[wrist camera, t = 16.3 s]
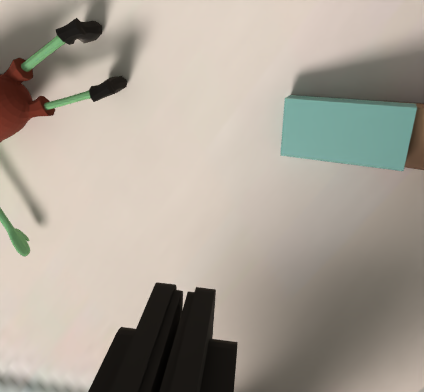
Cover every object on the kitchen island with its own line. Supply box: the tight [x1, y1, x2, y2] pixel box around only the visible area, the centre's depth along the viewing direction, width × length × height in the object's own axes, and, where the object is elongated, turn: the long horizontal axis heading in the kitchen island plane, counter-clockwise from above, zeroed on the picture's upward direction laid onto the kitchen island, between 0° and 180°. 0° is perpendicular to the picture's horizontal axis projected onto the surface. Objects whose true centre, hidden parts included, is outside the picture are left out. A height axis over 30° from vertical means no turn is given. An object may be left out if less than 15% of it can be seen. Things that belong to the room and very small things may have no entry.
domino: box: [281, 95, 417, 171], centre depth 32 cm, size 5×2×10 cm
